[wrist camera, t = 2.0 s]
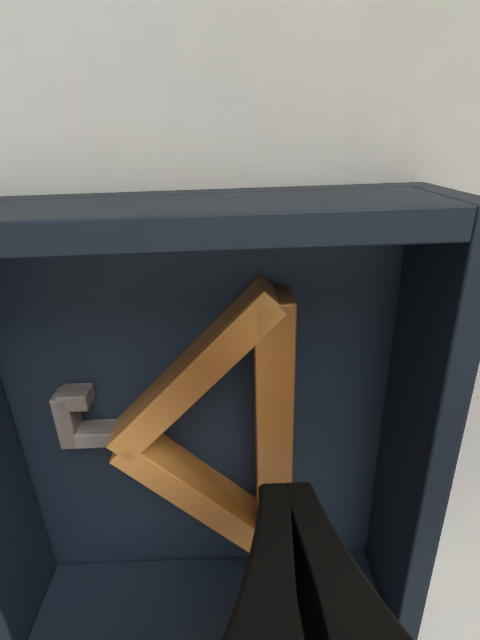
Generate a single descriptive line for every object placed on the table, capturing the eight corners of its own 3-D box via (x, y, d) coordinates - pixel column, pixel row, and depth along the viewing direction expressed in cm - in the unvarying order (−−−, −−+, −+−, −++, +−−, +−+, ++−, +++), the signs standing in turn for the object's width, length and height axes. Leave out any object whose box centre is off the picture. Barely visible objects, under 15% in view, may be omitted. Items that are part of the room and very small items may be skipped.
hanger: (93, 534, 17) (80, 571, 16) (33, 282, 13) (8, 301, 11) (285, 526, 17) (291, 563, 16) (290, 273, 13) (298, 290, 11)
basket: (51, 556, 19) (1, 672, 15) (-57, 198, 13) (-194, 228, 9) (375, 542, 19) (415, 654, 15) (425, 181, 13) (516, 203, 9)
